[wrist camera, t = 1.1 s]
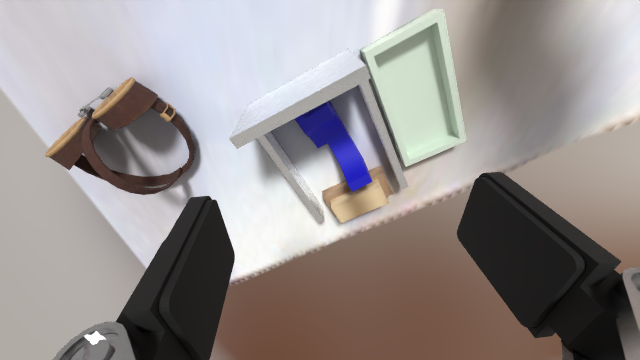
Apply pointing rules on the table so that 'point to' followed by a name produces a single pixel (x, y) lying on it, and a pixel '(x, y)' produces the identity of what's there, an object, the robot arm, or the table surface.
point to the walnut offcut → (344, 188)
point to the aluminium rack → (300, 99)
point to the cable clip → (335, 142)
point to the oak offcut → (359, 201)
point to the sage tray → (417, 87)
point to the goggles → (116, 114)
